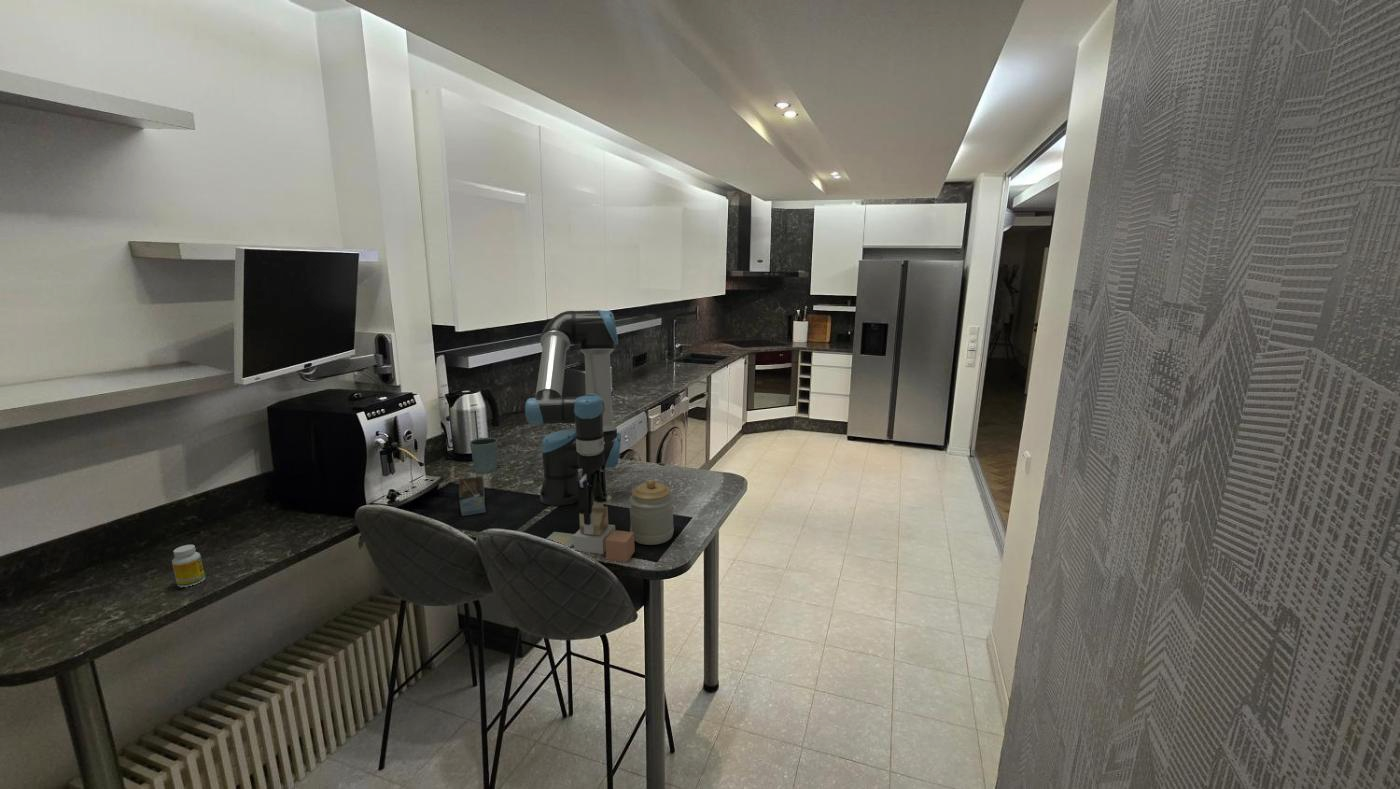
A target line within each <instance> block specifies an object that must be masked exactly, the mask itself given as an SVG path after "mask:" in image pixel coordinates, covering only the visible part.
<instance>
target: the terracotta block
mask: <svg viewBox="0 0 1400 789" xmlns="http://www.w3.org/2000/svg"><path fill="white" fill-rule="evenodd" d="M605 543H606V552H605V560H608V561H613V562H614V561H615V562H622V563H628V562H629V560H630V559H631V558H632V556H633V554H634V553H635V551H636V549H635V541H634V532H630V531H626V530H625V531H624V530H616V529H615V530H614V531H613V532H612V533H611V534H610V535H609V536H608V537H607V539H606V540H605Z"/></svg>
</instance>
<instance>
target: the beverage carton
mask: <svg viewBox="0 0 1400 789" xmlns="http://www.w3.org/2000/svg"><path fill="white" fill-rule="evenodd" d="M458 485H459V486H458V497H459V499H458V500H459V510H460V515H461V516H462V517H463V516H470V515H471V516H472V515H477V514H482V513H486V493H485V486H484V485H485V484H484V478H483V476H476V477H470V478H464V479H460V480H459V484H458Z"/></svg>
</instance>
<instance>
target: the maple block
mask: <svg viewBox="0 0 1400 789" xmlns="http://www.w3.org/2000/svg"><path fill="white" fill-rule="evenodd" d="M608 508H609V507H608V506H604V505H603V506H594V505H593V504H592V512H593V517H594V535H601V534H602V533H603V532H604V530H605V529H606V528H607V527H608V524H609V511H608V510H609V509H608ZM578 514H579V513H578ZM578 517H579V529H580V533H583V534H584V517H583V514H579V516H578Z"/></svg>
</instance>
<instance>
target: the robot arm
mask: <svg viewBox="0 0 1400 789" xmlns="http://www.w3.org/2000/svg"><path fill="white" fill-rule="evenodd" d="M618 344H619V339H618V332H617V326H616V320H615V316H614V313H613V311H610V310H600V309H599V310H597V309H596V310H565V311H563V312H560V313H558V314H557V315H555V316H554V317H553V318H551V319H550V320H549V321H548V322H547V324H546V325H545V326H544V328H543V329H542V332H541V336H540V346H541V348H542V349H541V357H540V362H539V370H538V375H537V376H538V377H537V382H536V390H535V397H530V398H527V400H526V402H525V404H524V408H525V409H524V410H525V418H526V419H525V420H526V421H527V423H528V424H530V425H547V424H551V425H552V424H572V423H573V424H575V426H574V427H575V430H574V429H562V430H558V431H554V432H551V433H549V434H547V435H546V436H544V437H543V438H542V441H541V454H542V464H543V465H542V466H543V481H542V485H541V487H540V492H539V493H540V494H539V497H540V502H541V503H542V504H544V505H547V506H553V507H554V506H555V507H560V506H561V507H562V506H568V505H572V504H576V503H578V514H583V517H584V534H591V535H594V517H593V512H592V505H594V506H604V503H606V502H607V486H606V484H607V483H606V468H615V467H617V466H618V464H619V462H620V454H621V453H620V451H621V440H622V434H621V432H618V428H617V426H615V425H614V424H613V406H612V405H613V404H612V403H613V402H612V377H611V376H612V374H611V354H612V353H613V352H614V351H615V346H616V345H618ZM570 346H579V352H581V354H583V355H584V371H585V372H584V374H585V375H584V376H585V395H582V396H565V397H564V396H563V389H564V380H565V379H564V378H565V369H566V357H567V351H569V349H570ZM579 470H582V473H581V478H580V475H579ZM593 500H594V502H593Z"/></svg>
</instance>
